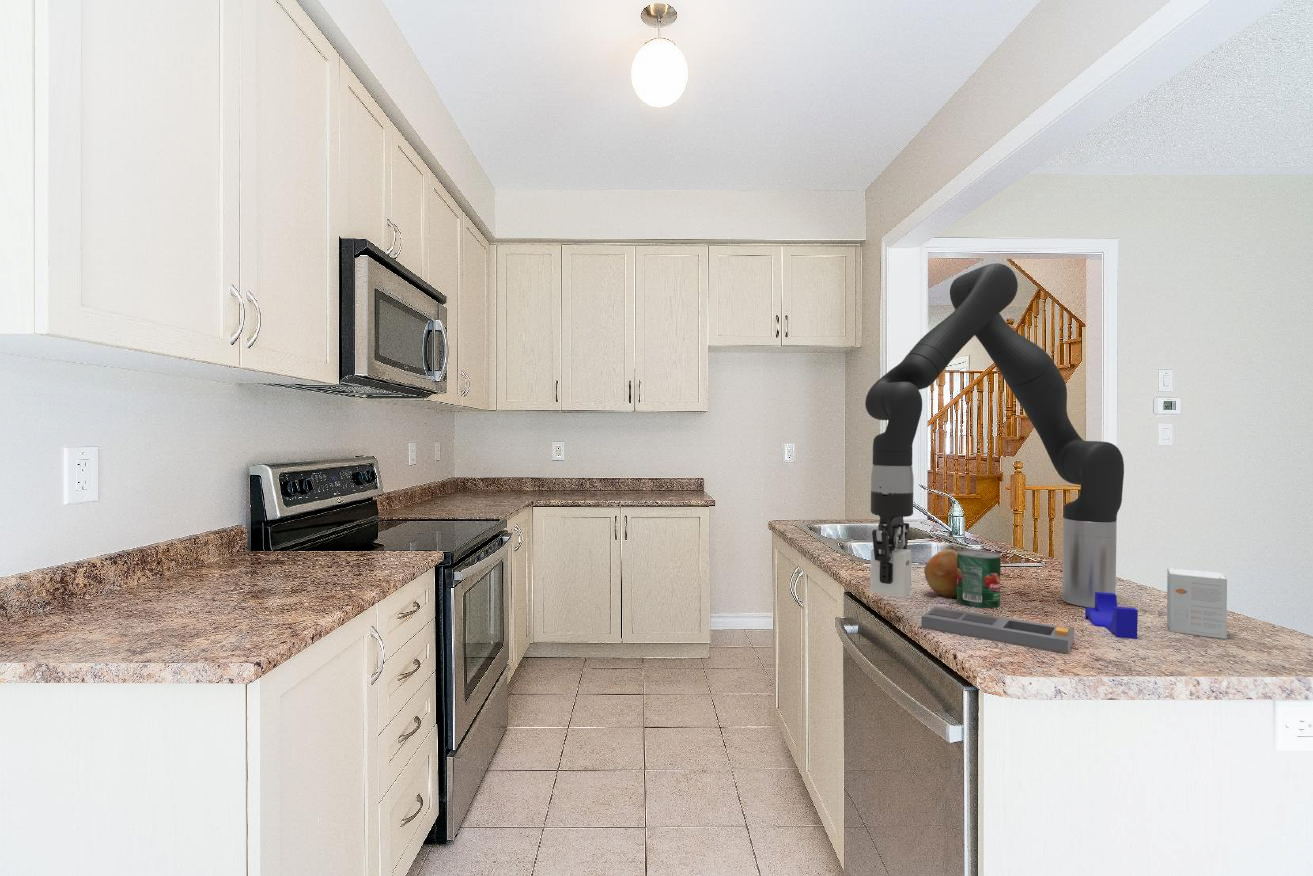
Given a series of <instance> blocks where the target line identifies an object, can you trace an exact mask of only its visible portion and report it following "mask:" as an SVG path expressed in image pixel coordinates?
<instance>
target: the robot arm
mask: <svg viewBox="0 0 1313 876" xmlns="http://www.w3.org/2000/svg"><path fill="white" fill-rule="evenodd" d="M1018 286H1019V285H1018V279H1017V275H1016V273H1015V272H1014V271H1013V270H1012V269H1011V268H1010V267H1009V266H1007V265H1006V264H1004V263H996V262H995V263H989V264H986V265H983V266H981V267H978V268H976V269H973V270H971V271H969V272H965V273H964V274H961V275H959V276H957V277H956V278H955V279H954V280H953V281H952V283H951V284H950V289H949V298H950V302H951V304H952V306H953V308H954V311H952V312H951V313H950V314H949V315H948V316H947V317H946V318H944V319H943V320H942V321H941V322H939V323H938V324H936V325H935V326H934V327H933V328H932V329H929V331H927V333H926V334H925V335H924V336H922V337H921V338H920V339H919V341H918V342H916V344H915V345H914V346H913V347H912V348H911V349H910V350H909V352H908V353H907V354H906V355H905V357H904V358H903V359H902V360H901V362H900V363H898V364H897V365H896V366H895V367H893V368H891V369H890V370H889V371H888V372H886V373H885V374H883V375H882V376H881V378H879V379H878V380H877V381H875V383H873V385H872V386H871V387H870V388H869V390H868V392H867V394H866V397H865V409H866V412H867V414H868V415H869V416H870V417H872V418H874V419H875V420H878V421H888V422H887V425H886V427H885V431H884V432H881V433H879V434H877V435H875V436H874V438H873V442H872V468H871V474H870V475H871V476H870V513H871V514H872V515H874V516H879V522H878V525H877V529H872V531H871V534H872V536H871V537H872V545H873V549H874V558H875V560H877V561H878V562H880V582H881V583H885V584H891V583H892V582H893V564H892V563H893V558H894V552H895V551H897V549H906V550H908V542H909V532H910V527H911V526H910V523H909V522H905V521H904V518H905V517H911V516H913V515H914V484H915V483H914V472H913V445H914V444H913V443H914V440H915V437H916V434H917V431H918V427H919V424H920V423H919V422H920V420H921V415H922V412H923V398H922V394H921V392H920V390H923V389H927V388H928V387H930V386H931V385H933V384H934V382H935V381H936V380H937V379H938V378H939V376H940V375H941V374H942V373H943V372H944V371H945V369H946V368H947V366H948V365H949V364H950V363H951V362H952V361H953V359H954V358H955V357H956V356H957V354H959V353H960V351H961V350H962V349H963V348H964V347H965V346H966V345H967V344H968V342H970V340H971V339H973V338H974V337H976V339H977V340H978V341H979V343H980V344H981V345H982V347H983V348H984V349H985V352H987V354H988V355H989V357H990V359H991V360H992V363H994V364H995V366H996V368H997V370H998V371H999V372H1000V374H1001V375H1002V378H1003V380H1004V381H1005V383H1006V385H1007V386H1008V388H1009V389H1010V392H1011V393H1012V394H1013V395H1014V398H1015V399H1016V401H1017V402H1018V403H1019V405H1020V406H1021V408H1022V409H1023V411H1024V412H1025V414H1026V416H1027V418H1028V419H1029V421H1030V423H1031V424H1032V426H1033V427H1034V429H1035V431H1036V432H1037V434H1038V436H1039V438H1040V440H1041V442H1042V444H1043V446H1044V449H1045V450H1046V452H1047V455H1048V457H1049V459H1050V461H1051V463H1052V466H1053V467H1054V469H1055V471H1056V472H1057V474H1058V475H1059V477H1060V478H1061V479H1062V480H1064V481H1065V482H1066V483H1067V482H1068V483H1069V484H1072V485H1077V486H1080V489H1079V496H1078V497H1077V498H1076V499H1074V500H1073V501H1070V502H1067V503H1065V504H1064V505H1063V513H1062V514H1063V515H1062V517H1063V521H1062V525H1063V527H1062V529H1063V530H1062V531H1063V533H1062V538H1063V539H1062V581H1061V583H1062V585H1061V586H1062V587H1061V589H1062V590H1061V591H1062V592H1061V594H1062V595H1061V596H1062V597H1061V599H1062V601H1063V602H1065V603H1068V604H1071V605H1075V606H1078V607H1088V608H1095V592H1104V593H1114V594H1116V591H1117V590H1116V588H1117V586H1116V585H1117V538H1118V537H1117V536H1118V535H1117V533H1118V532H1117V527H1118V526H1117V524H1118V523H1117V519H1118V518H1117V517H1118V513H1119V510H1120V508H1121V505H1122V503H1123V501H1122V500H1123V489H1124V477H1125V462H1124V457H1123V454H1122V452H1121V450H1120V448H1119V447H1118V446H1117V445H1115V444H1113V443H1111V442H1110V441H1109V442H1108V441H1101V440H1100V441H1099V440H1098V441H1097V440H1084V439H1083V438H1082V437H1081V436H1080V435H1079V433H1078V432H1077V431H1076V428H1075V427H1074V425H1073V424H1072V423H1071V420H1070V418H1069V414H1068V410H1067V408H1068V407H1067V403H1068V389H1067V388H1068V387H1067V384H1066V381H1065V379H1064V376H1063V375H1062V373H1061V371H1060V370H1059V368H1058V367H1057V365H1056V363H1055V362H1054V360H1053V358H1052V357H1051V356H1050V354H1049V353H1048V352H1046V351H1045V350H1044V349H1043V348H1042V347H1041V346H1039V345H1037V344H1036V343H1035V342H1033V341H1031V340H1030V339H1028V338H1027V337H1025V336H1024V335H1021V333H1019V332H1018V331H1016V330H1015V329H1013V327H1011V326H1010V325H1009V324H1008V323H1007V322H1006V320H1005V319H1004V318H1003V316H1002V315H1001V312H1002V311H1003V310H1005V309H1006V308H1007V307H1008V306H1010V304H1011V303H1012V302H1013V301H1014V300H1015V298H1016V296H1017V294H1018V293H1017V292H1018V288H1019V287H1018ZM883 551H885V555H884V554H883ZM889 551H890V552H889ZM1116 595H1117V594H1116Z"/></svg>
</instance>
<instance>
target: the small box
mask: <svg viewBox="0 0 1313 876" xmlns="http://www.w3.org/2000/svg"><path fill="white" fill-rule="evenodd" d="M1166 570H1167V574H1166V575H1167V576H1166V577H1167V579H1166V580H1167V581H1166V582H1167V583H1166V585H1167V587H1166V588H1167V590H1166V622H1167V623H1166V624H1167V629H1168V631H1169V632H1170V633H1176V634H1177V633H1178V634H1184V635H1186V634H1187V635H1193V636H1198V637H1199V636H1200V637H1207V638H1215V639H1223V640H1227V638H1228V628H1227V627H1228V626H1227V625H1228V623H1227V622H1228V621H1227V619H1228V617H1227V616H1228V614H1227V613H1228V610H1227V609H1228V607H1227V605H1228V603H1227V602H1228V580H1227V578H1226V576H1225V575H1224V573H1222V572H1215V571H1207V570H1206V571H1205V570H1194V569H1193V570H1192V569H1185V568H1184V569H1181V568H1171V567H1168V568H1167V569H1166Z"/></svg>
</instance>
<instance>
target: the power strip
mask: <svg viewBox="0 0 1313 876" xmlns="http://www.w3.org/2000/svg"><path fill="white" fill-rule="evenodd" d="M921 628H922V629H926V630H932V631H938V632H943V633H949V634H955V635H959V636H965V637H971V638H976V639H977V638H978V639H983V640H986V641H987V640H988V641H992V642H993V641H994V642H999V643H1004V644H1011V645H1016V646H1021V647H1028V648H1033V649H1037V650H1043V651H1049V652H1053V653H1054V652H1055V653H1061V654H1065V655H1066V654H1067V655H1068V654H1069V653H1070V651H1071V649H1072V647H1073V645H1074V642H1075V628H1072V627H1067V626H1065V627H1064V626H1059V625H1053V624H1047V623H1040V622H1034V621H1028V620H1022V619H1016V618H1008V617H1004V616H999V615H997V616H996V615H992V614H991V615H990V614H983V613H979V612H977V613H976V612H974V611H973V612H972V611H965V610H958V609H952V608H948V607H947V608H946V607H941V606H933V607H932V608H930V609H929V610H928V611H927V612H925V613H924V614H922V615H921Z"/></svg>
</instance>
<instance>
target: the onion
mask: <svg viewBox="0 0 1313 876" xmlns="http://www.w3.org/2000/svg"><path fill="white" fill-rule="evenodd" d="M957 552H958V551H957V549H956V550H955V549H954V548H953V549H951V548H947V549H945V550H941V551H938V552H937V553H935V554H934V555H933V556H932V557H931V558H930V559H928V561H927V562H926V564H925V566H924V569H923V571H924V572H923V573H924V577H925V580H926V582H927V584H928V587H930V588H931V590H933V592H935V593H937V594H938V595H941V597H942V596H943V597H945V598H949V599H953V598H957V555H958V554H957Z"/></svg>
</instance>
